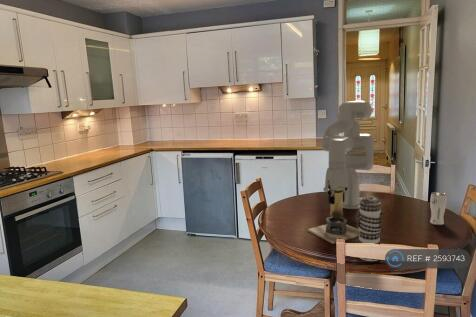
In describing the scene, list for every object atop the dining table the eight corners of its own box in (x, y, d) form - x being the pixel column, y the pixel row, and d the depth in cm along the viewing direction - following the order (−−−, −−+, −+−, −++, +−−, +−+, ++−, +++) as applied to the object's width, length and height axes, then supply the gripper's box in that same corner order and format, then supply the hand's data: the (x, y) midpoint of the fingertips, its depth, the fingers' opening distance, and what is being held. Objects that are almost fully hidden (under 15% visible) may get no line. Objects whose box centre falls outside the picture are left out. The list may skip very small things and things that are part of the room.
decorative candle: (364, 249, 154) (365, 193, 150) (385, 256, 147) (387, 197, 143) (352, 256, 148) (353, 198, 144) (373, 263, 141) (375, 203, 137)
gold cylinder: (336, 212, 175) (337, 184, 173) (345, 215, 170) (345, 187, 168) (327, 214, 173) (327, 186, 170) (336, 218, 168) (336, 189, 165)
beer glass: (443, 221, 182) (445, 192, 179) (446, 226, 176) (448, 196, 173) (428, 220, 185) (429, 191, 182) (430, 224, 178) (432, 195, 175)
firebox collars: (337, 225, 179) (337, 215, 178) (350, 231, 171) (350, 220, 170) (322, 229, 175) (322, 218, 174) (335, 236, 167) (335, 224, 166)
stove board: (339, 222, 186) (339, 221, 185) (365, 234, 170) (365, 232, 170) (307, 230, 177) (307, 229, 177) (332, 243, 161) (332, 241, 161)
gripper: (345, 161, 174) (344, 197, 178) (317, 166, 167) (317, 203, 170) (356, 164, 168) (355, 201, 171) (327, 169, 160) (327, 207, 164)
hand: (336, 202), depth 171 cm, fingers closed on gold cylinder, 5 cm apart
